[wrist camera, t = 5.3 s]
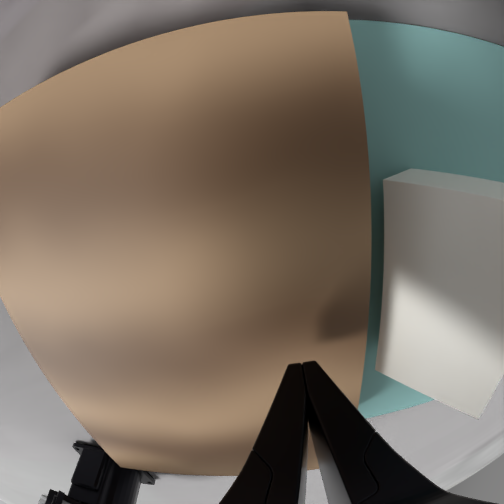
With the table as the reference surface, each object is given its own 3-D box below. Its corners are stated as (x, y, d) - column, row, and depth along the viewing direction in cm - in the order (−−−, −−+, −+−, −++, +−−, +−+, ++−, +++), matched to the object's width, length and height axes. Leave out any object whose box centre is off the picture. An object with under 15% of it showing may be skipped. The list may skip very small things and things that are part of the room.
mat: (481, 378, 17) (482, 381, 17) (335, 420, 18) (336, 424, 18) (524, 55, 8) (527, 55, 8) (313, 21, 9) (314, 19, 9)
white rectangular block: (374, 369, 13) (400, 341, 15) (478, 419, 9) (495, 382, 10) (383, 179, 10) (411, 168, 11) (552, 212, 5) (549, 193, 6)
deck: (336, 412, 17) (347, 463, 14) (134, 422, 18) (120, 467, 15) (317, 44, 9) (346, 11, 6) (13, 128, 10) (-46, 141, 7)
